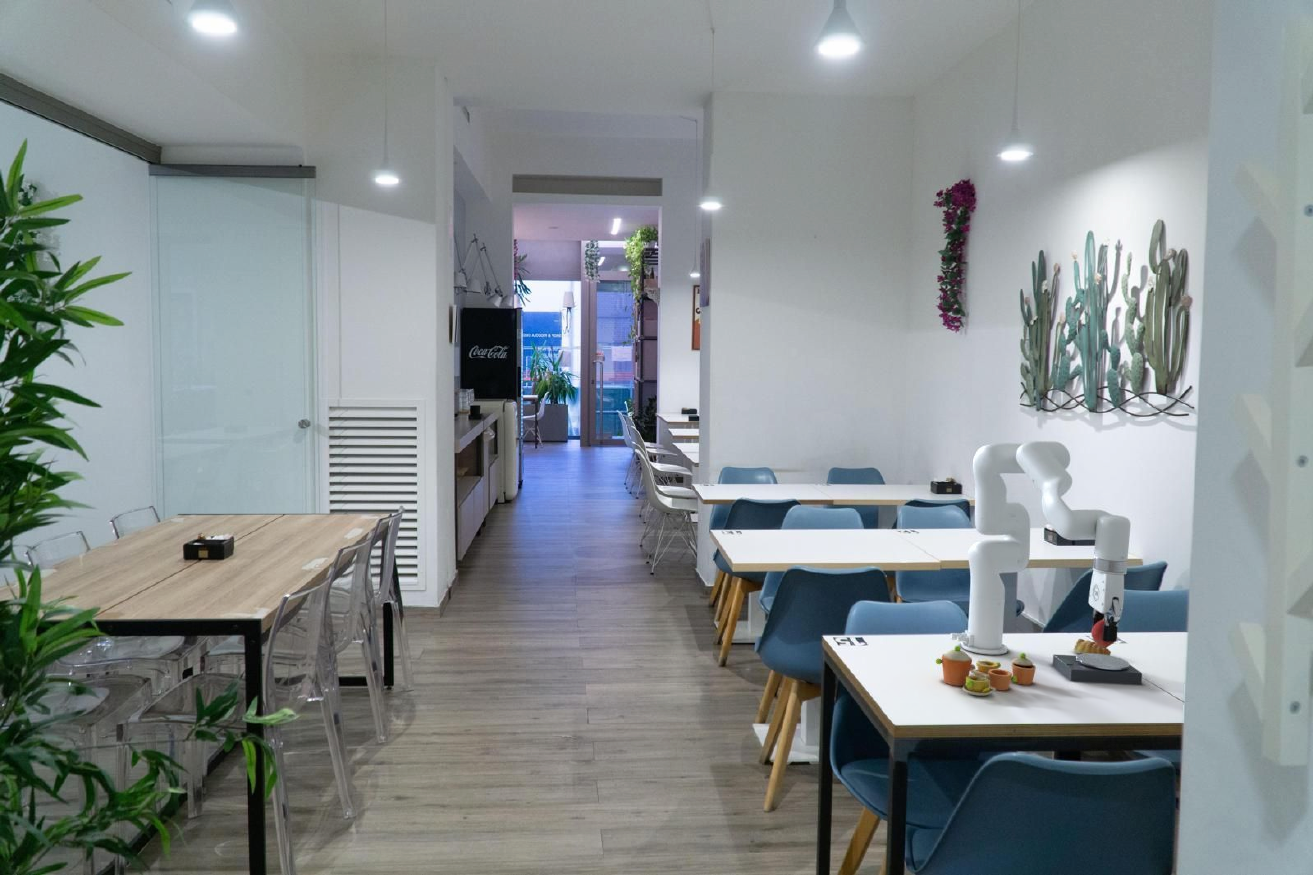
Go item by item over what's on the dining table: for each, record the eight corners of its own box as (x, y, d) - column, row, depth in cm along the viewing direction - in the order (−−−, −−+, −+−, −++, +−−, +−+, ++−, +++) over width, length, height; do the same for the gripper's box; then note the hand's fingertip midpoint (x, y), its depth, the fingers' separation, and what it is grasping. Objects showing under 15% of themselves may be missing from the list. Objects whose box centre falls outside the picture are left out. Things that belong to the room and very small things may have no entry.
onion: (1085, 644, 248) (1088, 613, 247) (1107, 645, 248) (1110, 613, 248) (1097, 651, 242) (1100, 619, 241) (1120, 652, 243) (1123, 620, 242)
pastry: (1114, 656, 283) (1115, 643, 282) (1104, 661, 278) (1105, 647, 278) (1081, 649, 289) (1081, 636, 289) (1071, 653, 284) (1072, 640, 284)
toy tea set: (977, 700, 240) (979, 661, 239) (928, 682, 253) (930, 644, 252) (1045, 685, 254) (1048, 648, 253) (996, 668, 267) (998, 633, 266)
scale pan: (1086, 668, 258) (1086, 666, 258) (1068, 654, 271) (1068, 652, 271) (1137, 671, 257) (1137, 668, 257) (1117, 656, 270) (1117, 654, 270)
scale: (1070, 680, 258) (1071, 668, 258) (1052, 665, 272) (1053, 653, 272) (1141, 684, 257) (1142, 672, 257) (1119, 668, 271) (1120, 657, 271)
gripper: (1081, 557, 252) (1075, 626, 254) (1107, 572, 235) (1101, 646, 237) (1111, 559, 252) (1105, 628, 253) (1140, 574, 234) (1133, 648, 236)
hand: (1103, 636), depth 245 cm, fingers closed on onion, 6 cm apart
